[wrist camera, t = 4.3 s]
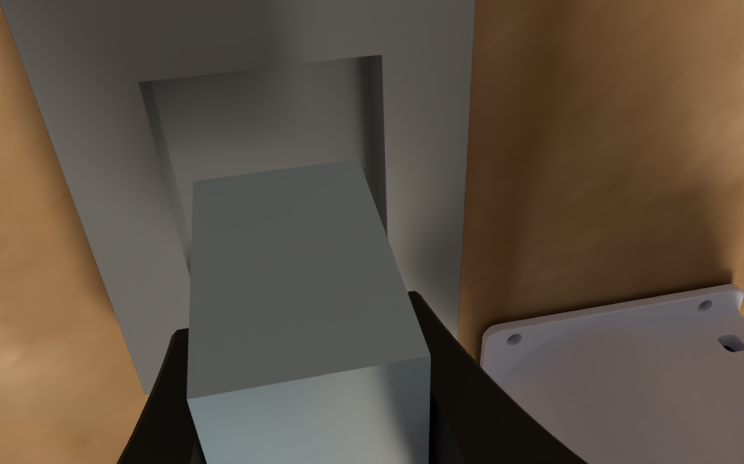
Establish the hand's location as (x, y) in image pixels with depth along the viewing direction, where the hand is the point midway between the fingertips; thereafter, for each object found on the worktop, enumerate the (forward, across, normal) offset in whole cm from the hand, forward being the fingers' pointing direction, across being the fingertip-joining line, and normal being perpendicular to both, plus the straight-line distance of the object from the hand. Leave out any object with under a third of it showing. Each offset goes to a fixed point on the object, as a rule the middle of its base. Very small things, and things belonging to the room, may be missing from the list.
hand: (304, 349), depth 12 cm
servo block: (+2, 0, 0) cm, 2 cm away
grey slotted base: (+7, 0, 0) cm, 7 cm away
